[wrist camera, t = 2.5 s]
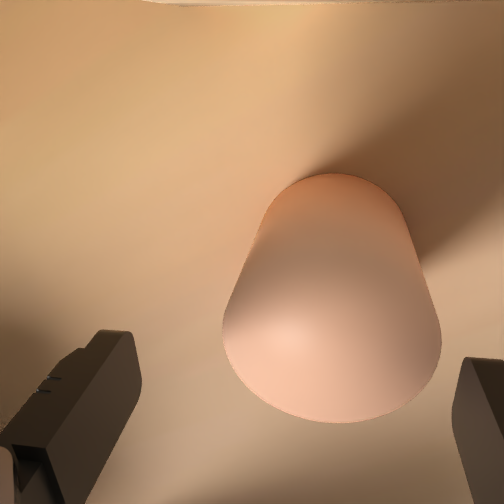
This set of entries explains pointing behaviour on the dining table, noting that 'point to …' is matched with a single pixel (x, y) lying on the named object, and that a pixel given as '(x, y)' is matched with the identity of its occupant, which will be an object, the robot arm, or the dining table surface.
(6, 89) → the dining table surface
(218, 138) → the dining table surface
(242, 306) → the coral cylinder
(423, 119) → the dining table surface
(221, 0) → the birch base block
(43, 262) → the dining table surface
